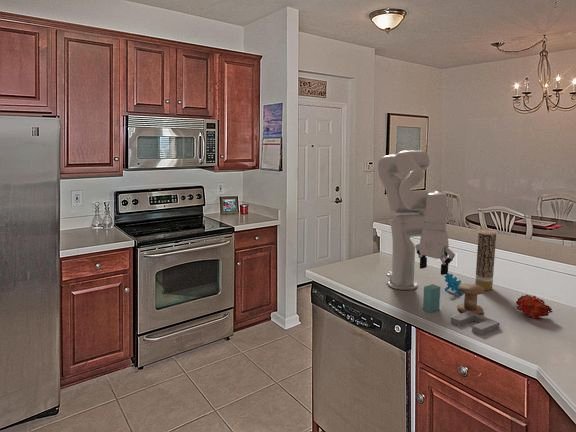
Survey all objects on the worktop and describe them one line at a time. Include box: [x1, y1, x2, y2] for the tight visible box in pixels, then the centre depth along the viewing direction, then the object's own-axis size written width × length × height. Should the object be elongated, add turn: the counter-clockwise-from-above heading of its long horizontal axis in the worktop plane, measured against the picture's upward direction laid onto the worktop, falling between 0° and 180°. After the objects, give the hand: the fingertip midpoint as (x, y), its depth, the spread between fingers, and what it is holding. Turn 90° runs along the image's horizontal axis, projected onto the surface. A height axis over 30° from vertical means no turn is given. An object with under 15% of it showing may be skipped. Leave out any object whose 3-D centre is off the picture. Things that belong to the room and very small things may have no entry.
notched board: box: [450, 311, 500, 336], centre depth 152 cm, size 12×10×2 cm
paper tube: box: [474, 229, 497, 291], centre depth 187 cm, size 7×7×25 cm
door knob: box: [456, 283, 486, 316], centre depth 165 cm, size 9×9×9 cm
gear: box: [443, 273, 463, 295], centre depth 186 cm, size 11×6×10 cm
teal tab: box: [422, 284, 441, 313], centre depth 166 cm, size 4×5×9 cm
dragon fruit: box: [515, 294, 553, 321], centre depth 159 cm, size 8×8×12 cm
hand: (433, 271), depth 164 cm, fingers open, 9 cm apart
